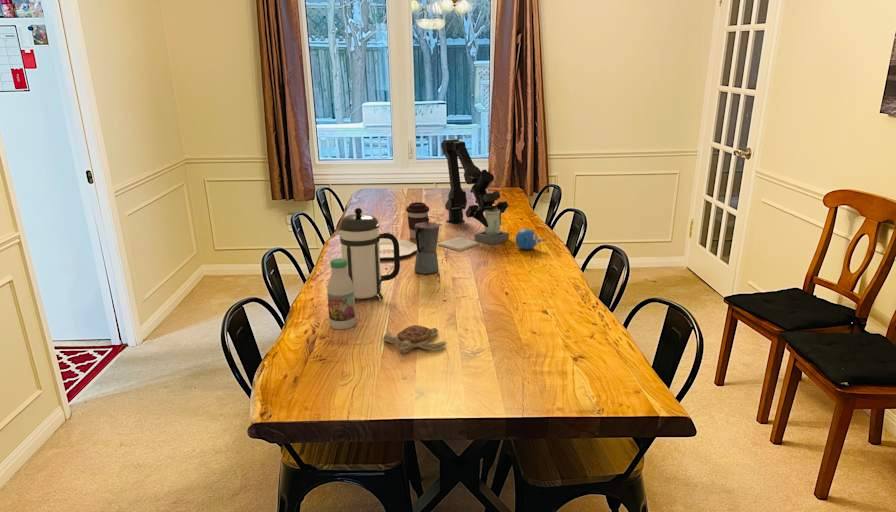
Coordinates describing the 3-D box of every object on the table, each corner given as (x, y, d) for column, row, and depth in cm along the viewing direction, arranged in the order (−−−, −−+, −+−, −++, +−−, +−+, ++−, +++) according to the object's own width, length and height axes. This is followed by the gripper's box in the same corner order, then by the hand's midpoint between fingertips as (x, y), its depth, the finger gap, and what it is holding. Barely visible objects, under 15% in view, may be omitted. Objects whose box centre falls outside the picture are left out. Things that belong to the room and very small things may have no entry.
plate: (427, 247, 242) (427, 243, 242) (398, 265, 221) (398, 260, 220) (376, 240, 252) (376, 236, 252) (343, 257, 231) (343, 252, 230)
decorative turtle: (370, 352, 155) (369, 335, 154) (397, 326, 170) (397, 311, 168) (433, 363, 149) (433, 346, 147) (455, 336, 164) (455, 320, 162)
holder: (474, 240, 251) (474, 233, 250) (490, 235, 258) (490, 228, 257) (493, 244, 244) (493, 238, 243) (508, 239, 251) (508, 232, 250)
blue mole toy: (544, 254, 231) (544, 234, 229) (514, 252, 233) (514, 232, 231) (545, 245, 242) (546, 226, 240) (516, 244, 245) (517, 224, 242)
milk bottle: (331, 319, 174) (326, 256, 168) (357, 318, 175) (353, 255, 168) (328, 331, 167) (323, 265, 160) (355, 329, 167) (351, 264, 161)
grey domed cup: (481, 238, 252) (481, 209, 248) (494, 236, 255) (495, 208, 251) (491, 244, 245) (492, 214, 241) (505, 242, 248) (505, 212, 243)
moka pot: (445, 266, 219) (445, 214, 213) (431, 279, 205) (430, 225, 199) (422, 263, 222) (421, 212, 216) (406, 276, 208) (404, 223, 202)
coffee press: (369, 310, 181) (363, 216, 171) (330, 299, 189) (323, 210, 179) (402, 292, 195) (398, 204, 185) (365, 283, 203) (360, 199, 193)
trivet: (438, 245, 244) (438, 243, 244) (457, 239, 252) (457, 236, 252) (459, 251, 236) (459, 248, 236) (478, 244, 245) (478, 242, 244)
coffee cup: (430, 234, 260) (430, 201, 255) (428, 240, 251) (427, 206, 246) (409, 233, 261) (408, 201, 256) (405, 240, 252) (404, 206, 247)
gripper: (468, 187, 243) (481, 218, 237) (506, 182, 251) (519, 213, 245) (460, 201, 252) (472, 232, 246) (497, 197, 260) (509, 226, 254)
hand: (493, 225), depth 248 cm, fingers closed on grey domed cup, 6 cm apart
